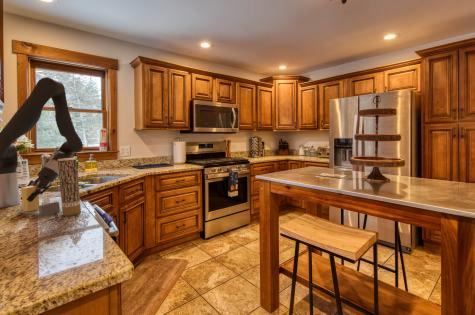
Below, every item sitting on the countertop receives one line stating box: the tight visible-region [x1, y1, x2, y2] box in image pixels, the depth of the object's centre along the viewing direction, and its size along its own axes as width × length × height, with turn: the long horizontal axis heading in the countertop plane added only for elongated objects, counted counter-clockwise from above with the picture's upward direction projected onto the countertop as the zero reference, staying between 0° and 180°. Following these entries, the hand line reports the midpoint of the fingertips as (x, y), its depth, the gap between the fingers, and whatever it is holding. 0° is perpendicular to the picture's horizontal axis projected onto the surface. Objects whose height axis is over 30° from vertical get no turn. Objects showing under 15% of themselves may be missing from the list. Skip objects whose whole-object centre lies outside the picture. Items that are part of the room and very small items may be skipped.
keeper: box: [20, 186, 40, 212], centre depth 115 cm, size 4×4×11 cm
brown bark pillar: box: [58, 157, 82, 217], centre depth 109 cm, size 7×7×25 cm
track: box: [18, 201, 61, 217], centre depth 113 cm, size 18×7×5 cm, turn 67°
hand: (25, 200), depth 113 cm, fingers closed on keeper, 4 cm apart
